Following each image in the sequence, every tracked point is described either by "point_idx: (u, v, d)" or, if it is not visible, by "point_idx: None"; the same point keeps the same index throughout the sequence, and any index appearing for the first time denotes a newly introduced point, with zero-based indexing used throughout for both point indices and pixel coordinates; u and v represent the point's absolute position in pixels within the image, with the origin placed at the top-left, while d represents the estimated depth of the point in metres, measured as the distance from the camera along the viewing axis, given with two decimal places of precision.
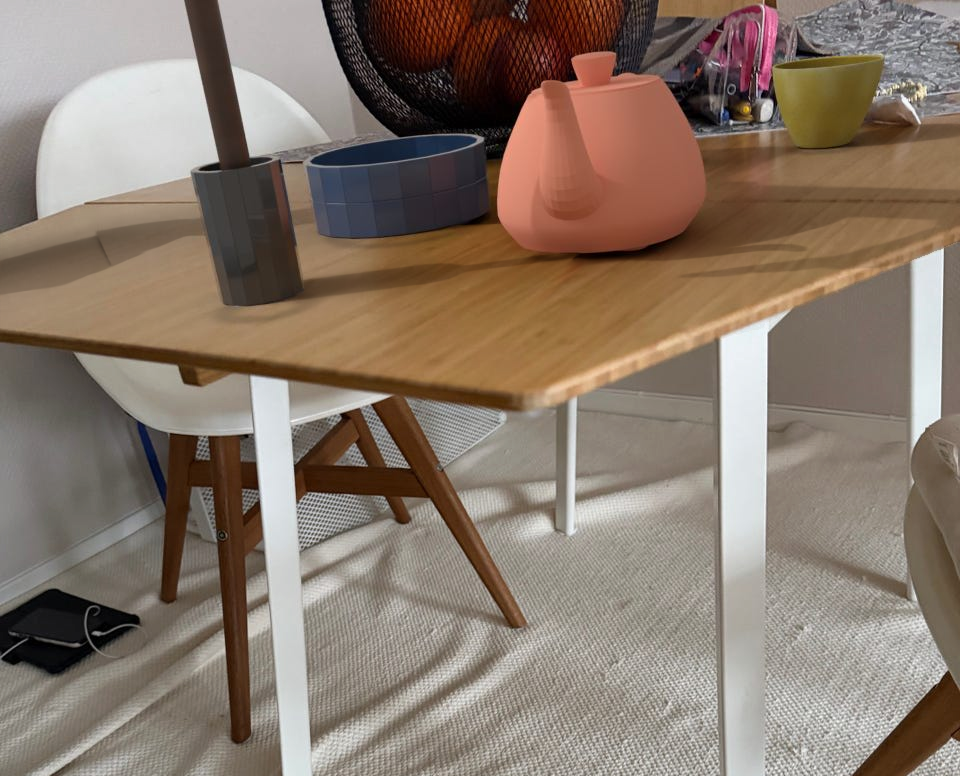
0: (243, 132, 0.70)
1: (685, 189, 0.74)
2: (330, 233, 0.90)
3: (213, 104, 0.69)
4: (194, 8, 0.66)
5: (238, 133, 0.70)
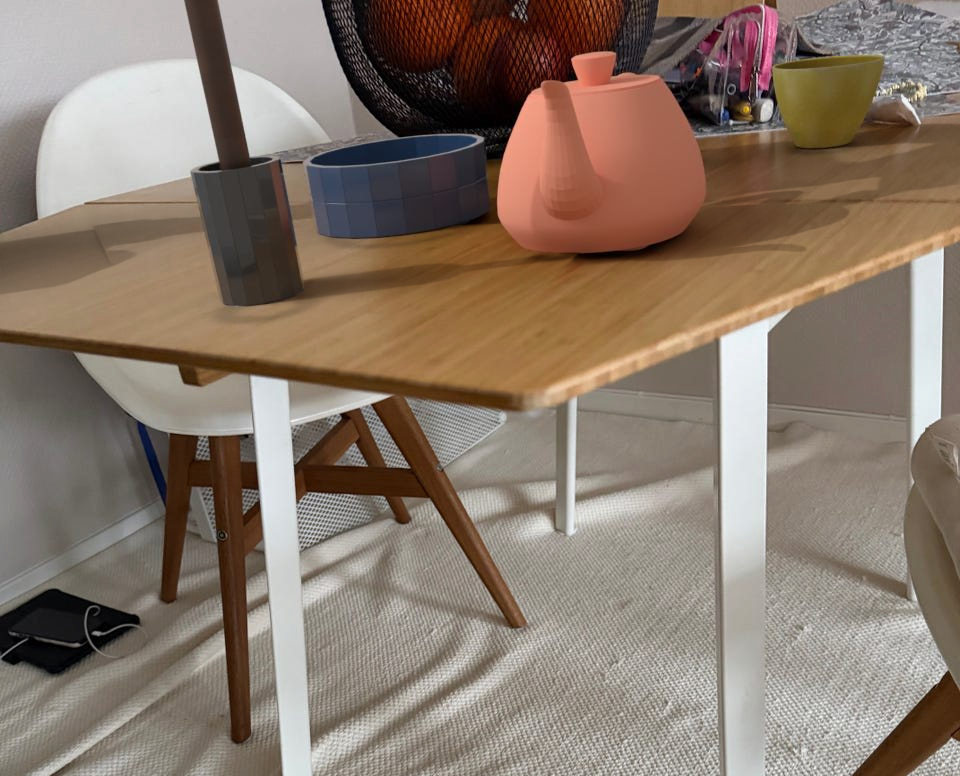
0: (243, 132, 0.70)
1: (685, 189, 0.74)
2: (330, 233, 0.90)
3: (213, 104, 0.69)
4: (194, 8, 0.66)
5: (238, 133, 0.70)
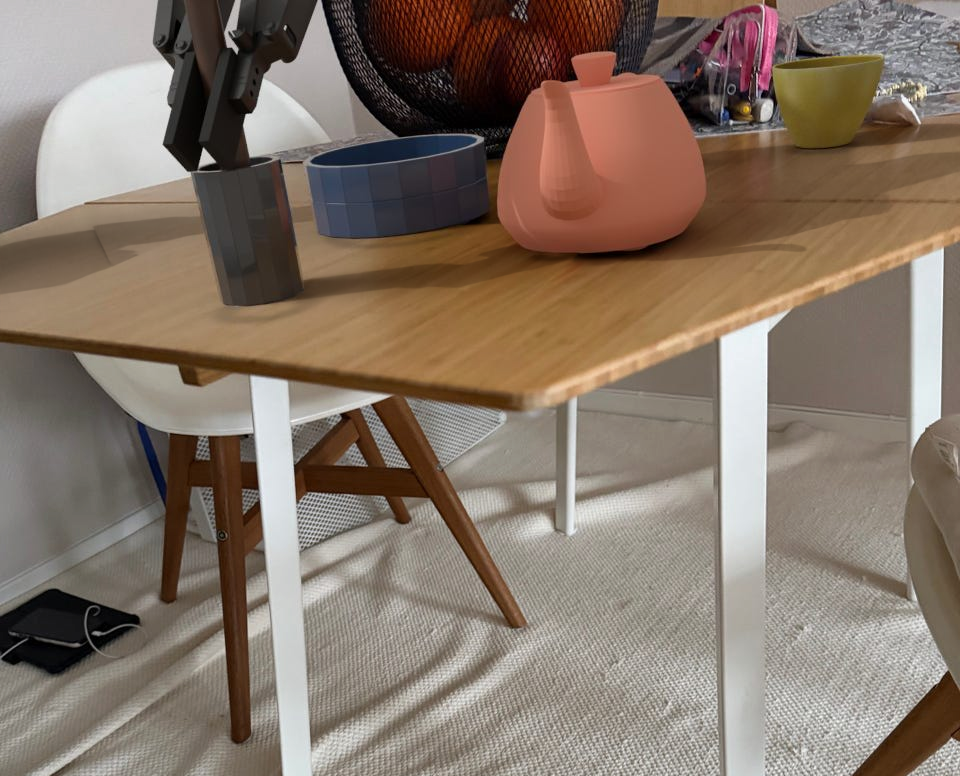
0: (243, 132, 0.70)
1: (685, 189, 0.74)
2: (330, 233, 0.90)
3: None
4: (194, 8, 0.66)
5: None
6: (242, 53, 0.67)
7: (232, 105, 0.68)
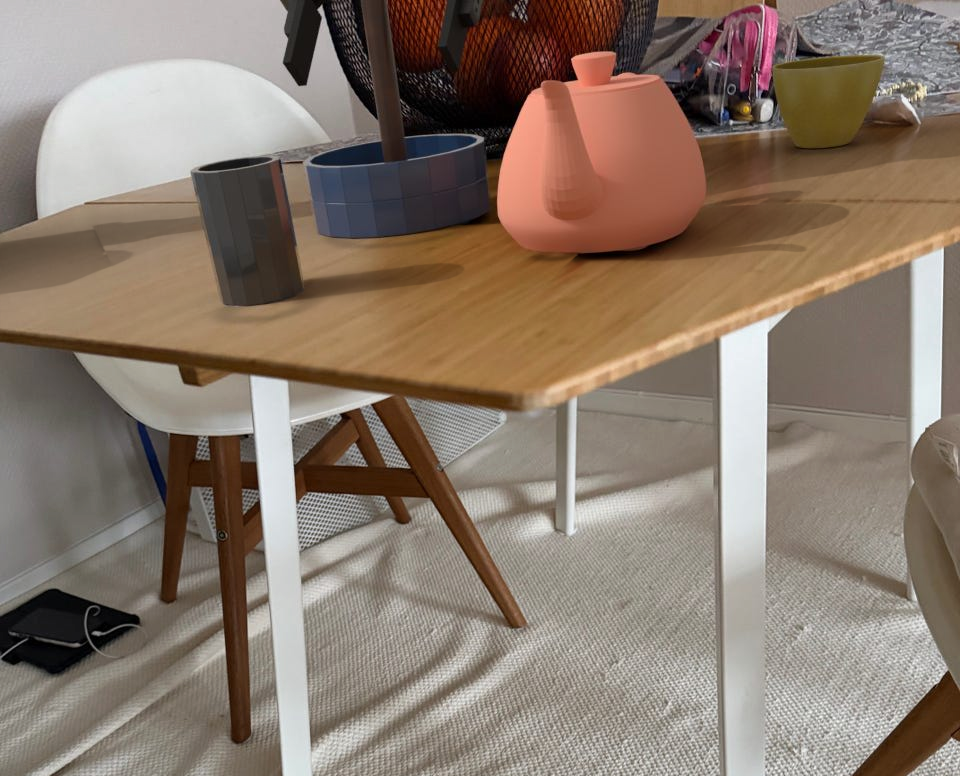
0: (397, 84, 0.89)
1: (685, 189, 0.74)
2: (330, 233, 0.90)
3: (376, 61, 0.87)
4: None
5: (394, 85, 0.88)
6: None
7: (460, 19, 0.84)
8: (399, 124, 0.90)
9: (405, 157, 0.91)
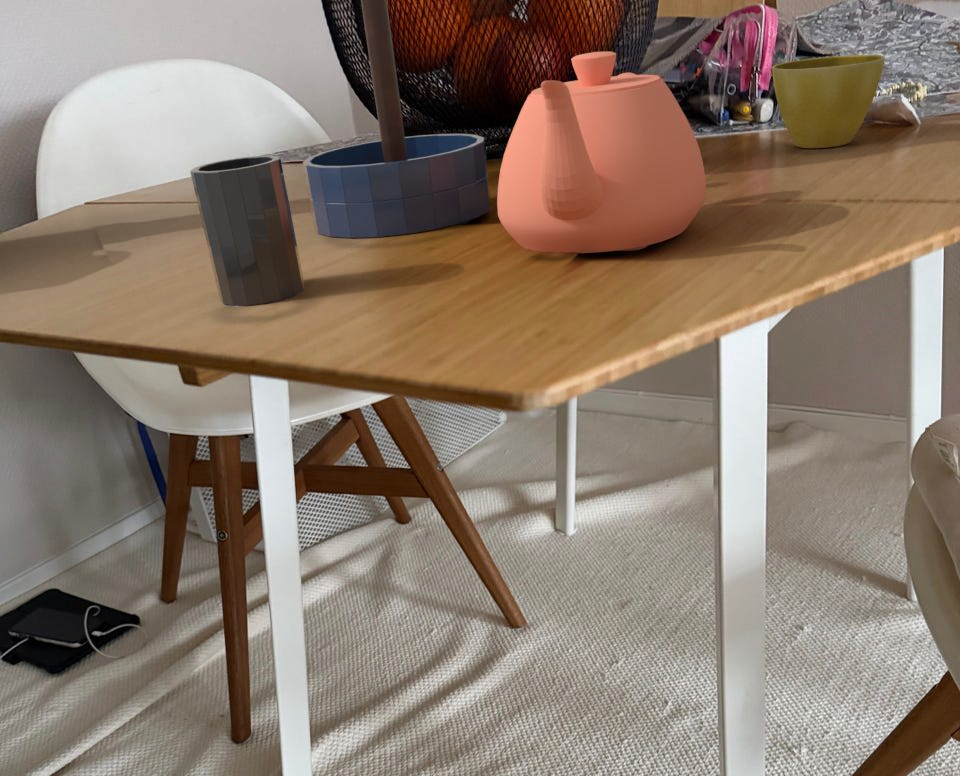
0: (397, 84, 0.89)
1: (685, 189, 0.74)
2: (330, 233, 0.90)
3: (376, 61, 0.87)
4: None
5: (394, 85, 0.88)
6: None
7: None
8: (399, 124, 0.90)
9: (405, 157, 0.91)
